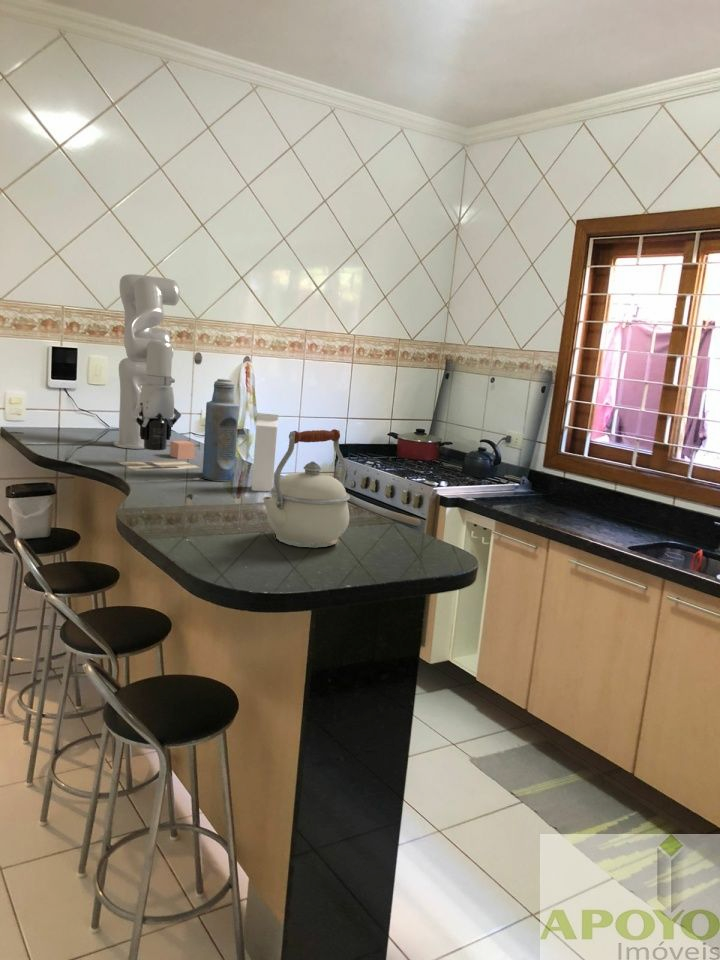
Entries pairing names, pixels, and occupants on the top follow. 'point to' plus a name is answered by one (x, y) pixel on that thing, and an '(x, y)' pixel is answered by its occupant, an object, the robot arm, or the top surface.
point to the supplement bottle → (156, 434)
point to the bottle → (220, 433)
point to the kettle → (309, 497)
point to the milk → (264, 452)
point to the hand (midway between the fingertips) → (155, 438)
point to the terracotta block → (182, 449)
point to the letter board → (159, 465)
